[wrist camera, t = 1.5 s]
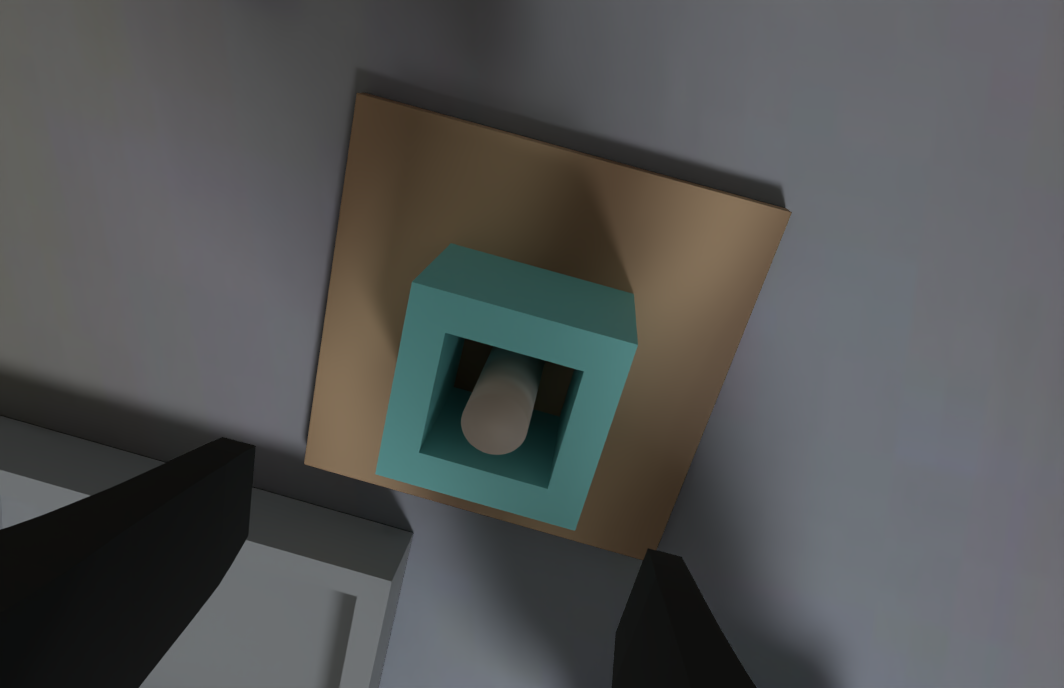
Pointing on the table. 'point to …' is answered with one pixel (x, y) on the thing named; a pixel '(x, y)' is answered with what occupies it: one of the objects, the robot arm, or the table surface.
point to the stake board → (553, 244)
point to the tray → (242, 575)
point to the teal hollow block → (523, 327)
